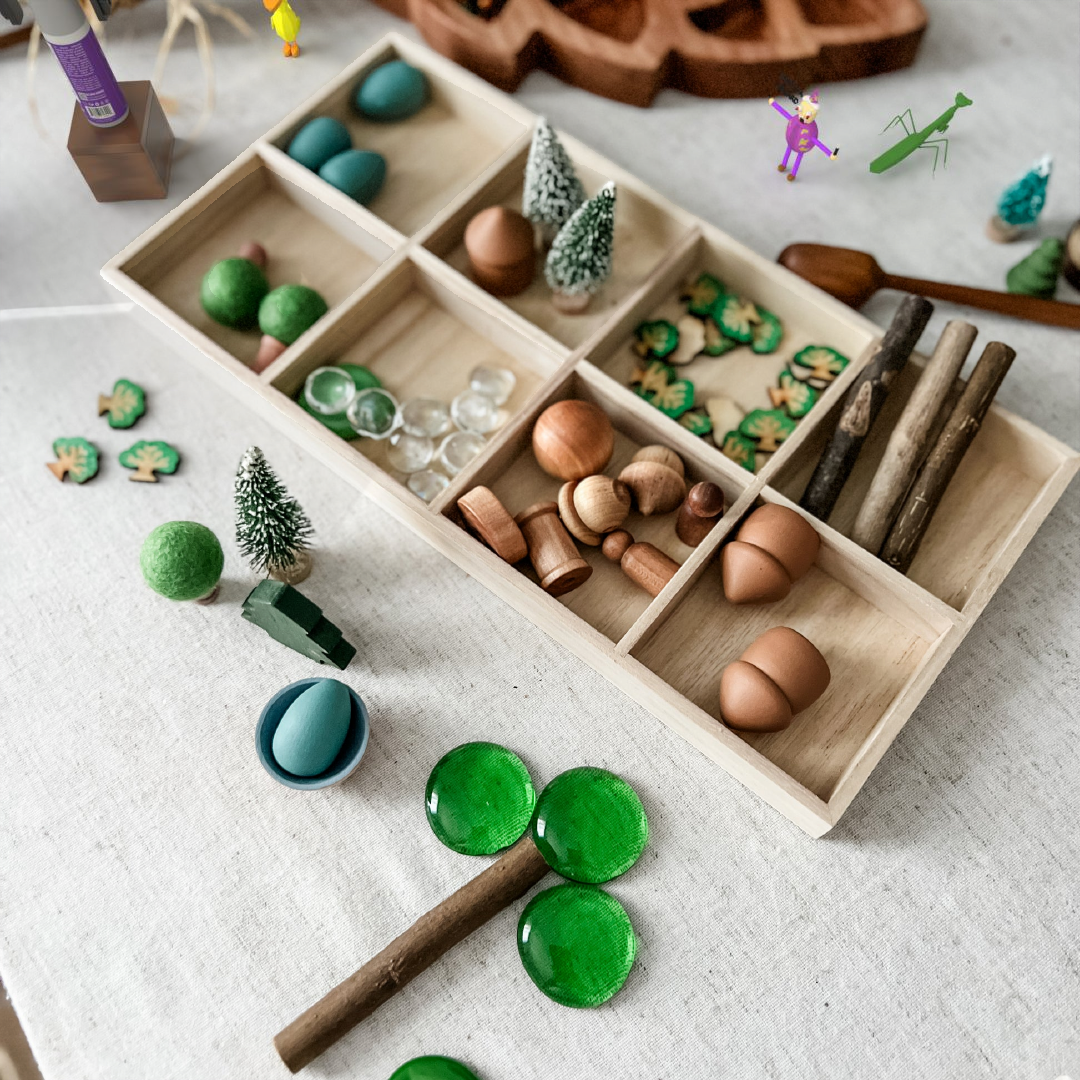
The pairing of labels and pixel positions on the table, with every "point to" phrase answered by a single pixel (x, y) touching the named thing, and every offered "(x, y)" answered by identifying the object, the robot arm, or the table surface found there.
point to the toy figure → (284, 24)
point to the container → (81, 60)
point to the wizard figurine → (801, 127)
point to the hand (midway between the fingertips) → (61, 18)
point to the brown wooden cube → (125, 148)
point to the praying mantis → (917, 138)
